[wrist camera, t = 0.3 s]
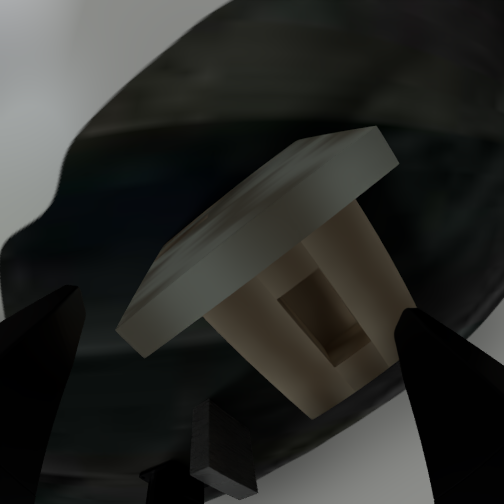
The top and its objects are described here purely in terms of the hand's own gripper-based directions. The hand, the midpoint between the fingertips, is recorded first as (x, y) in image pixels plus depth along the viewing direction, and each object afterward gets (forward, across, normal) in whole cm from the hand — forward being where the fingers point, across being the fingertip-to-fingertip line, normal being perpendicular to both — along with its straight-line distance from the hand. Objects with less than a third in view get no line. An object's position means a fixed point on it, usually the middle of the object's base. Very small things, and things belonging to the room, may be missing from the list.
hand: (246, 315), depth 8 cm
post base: (+14, -6, +8) cm, 17 cm away
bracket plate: (+11, 0, +22) cm, 25 cm away
